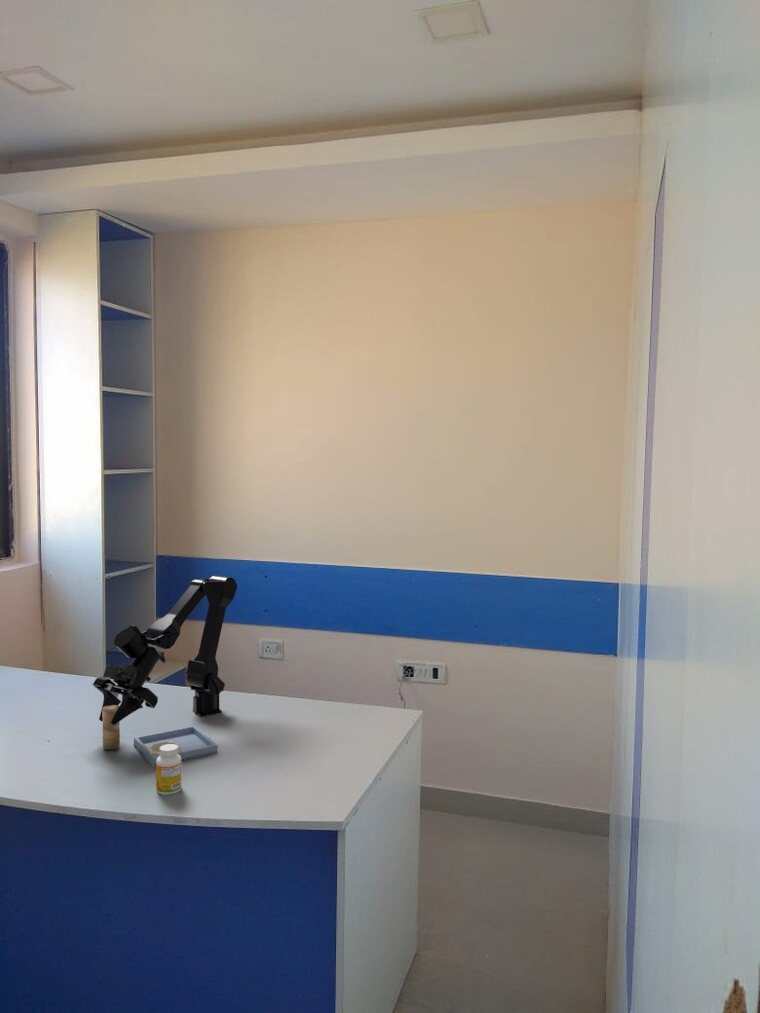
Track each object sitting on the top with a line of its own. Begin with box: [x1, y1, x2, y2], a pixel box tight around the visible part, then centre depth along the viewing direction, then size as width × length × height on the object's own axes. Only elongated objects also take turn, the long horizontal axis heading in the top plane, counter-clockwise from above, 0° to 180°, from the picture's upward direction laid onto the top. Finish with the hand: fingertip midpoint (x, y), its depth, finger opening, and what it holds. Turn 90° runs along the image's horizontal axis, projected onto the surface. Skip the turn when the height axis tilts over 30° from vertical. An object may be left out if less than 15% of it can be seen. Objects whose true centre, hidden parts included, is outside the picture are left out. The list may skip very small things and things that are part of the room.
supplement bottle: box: [155, 744, 183, 796], centre depth 168 cm, size 5×5×10 cm
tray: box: [133, 725, 219, 767], centre depth 191 cm, size 16×16×2 cm
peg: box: [101, 705, 121, 750], centre depth 190 cm, size 4×4×10 cm
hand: (106, 722), depth 189 cm, fingers closed on peg, 4 cm apart
